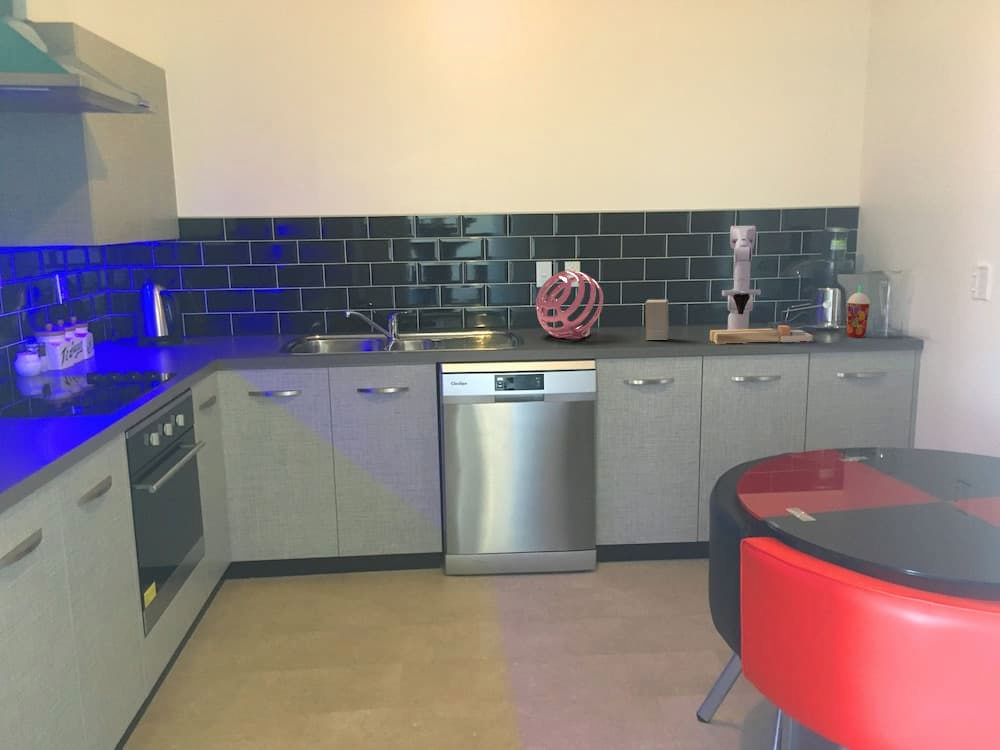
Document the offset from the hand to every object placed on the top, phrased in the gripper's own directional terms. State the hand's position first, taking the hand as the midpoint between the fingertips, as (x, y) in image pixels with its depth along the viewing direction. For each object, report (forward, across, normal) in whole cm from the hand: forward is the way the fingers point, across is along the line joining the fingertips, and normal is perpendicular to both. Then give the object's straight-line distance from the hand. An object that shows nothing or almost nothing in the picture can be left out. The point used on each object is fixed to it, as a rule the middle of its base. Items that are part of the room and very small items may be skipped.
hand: (740, 314), depth 323 cm
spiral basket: (+11, -64, +20) cm, 68 cm away
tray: (+10, +20, -2) cm, 22 cm away
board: (+10, +1, -2) cm, 11 cm away
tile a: (+7, +15, -2) cm, 17 cm away
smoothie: (+11, +47, +1) cm, 48 cm away
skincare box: (+11, -31, +7) cm, 33 cm away
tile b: (+7, +21, -3) cm, 23 cm away
